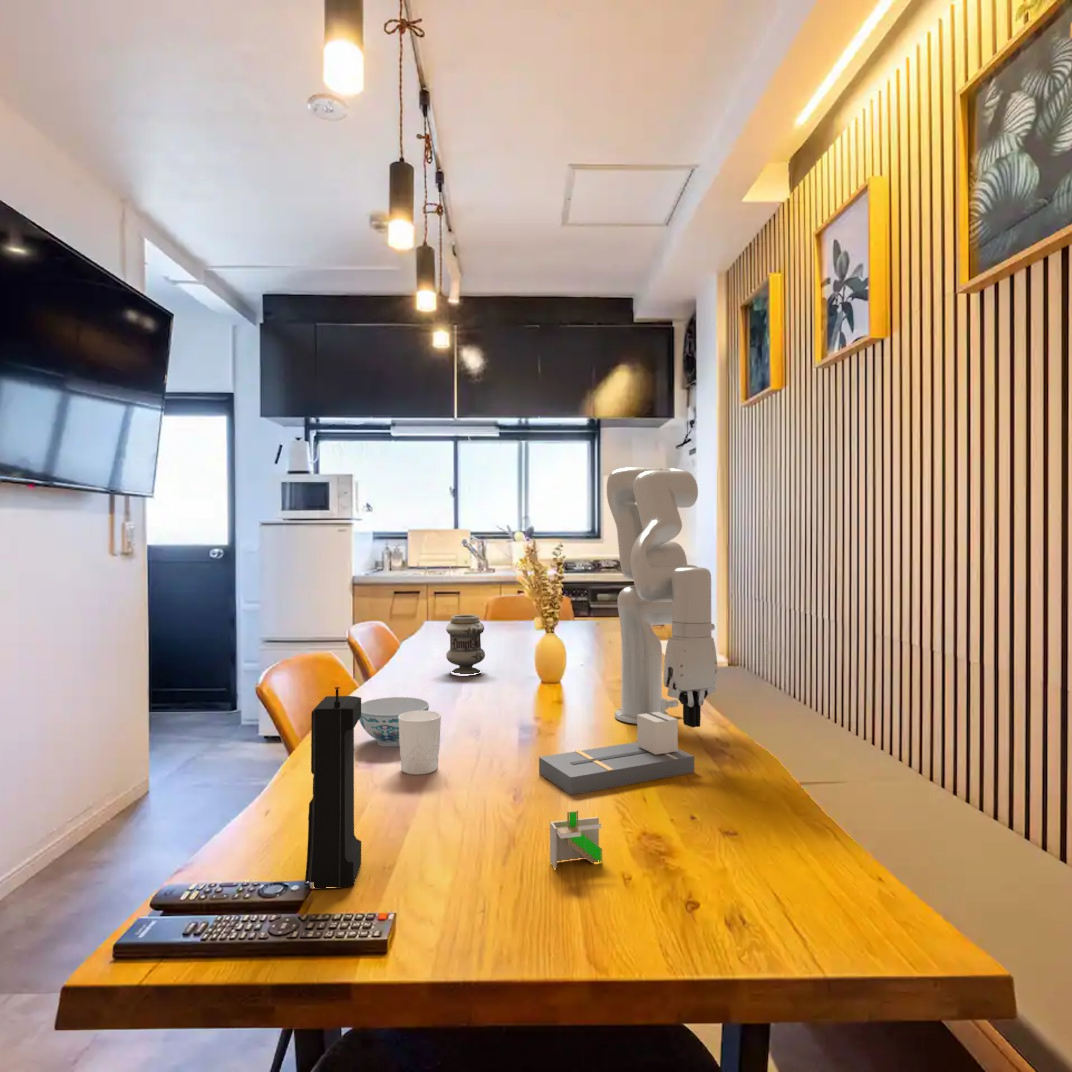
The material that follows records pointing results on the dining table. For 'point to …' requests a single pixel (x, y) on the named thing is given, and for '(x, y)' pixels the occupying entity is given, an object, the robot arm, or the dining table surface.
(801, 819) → the dining table surface
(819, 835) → the dining table surface
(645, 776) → the board
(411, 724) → the white cup
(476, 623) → the apothecary jar
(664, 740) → the fader tab
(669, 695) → the robot arm
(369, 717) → the chinaware
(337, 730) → the portable radio
